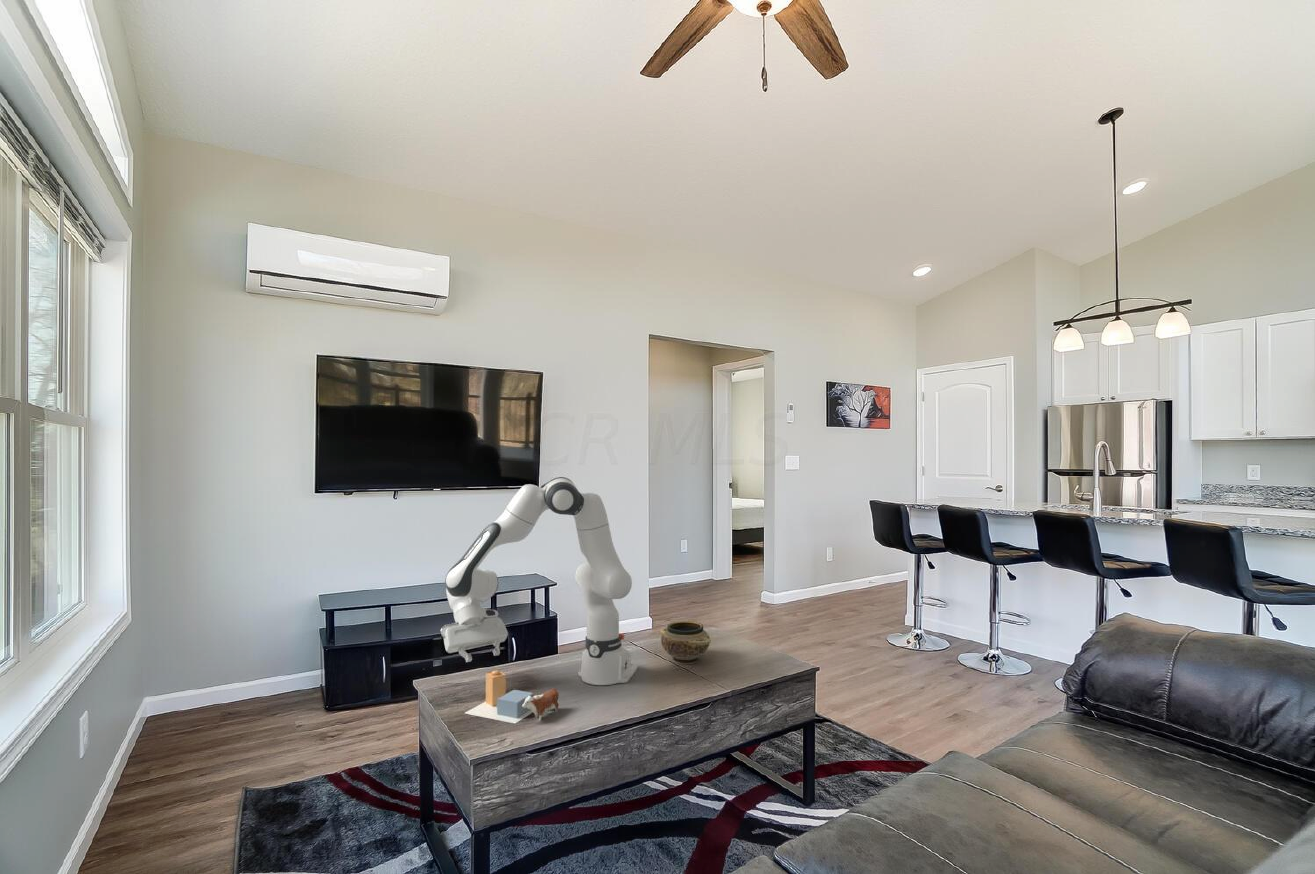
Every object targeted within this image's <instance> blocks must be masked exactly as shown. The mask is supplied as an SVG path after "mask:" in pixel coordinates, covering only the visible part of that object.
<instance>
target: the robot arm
mask: <svg viewBox="0 0 1315 874" xmlns="http://www.w3.org/2000/svg"><path fill="white" fill-rule="evenodd" d="M547 510H550V511H551V512H553V513H555V514H557V515H565V516H566V515H567V516H572V517H573V519H574V522H575V528H576V533H577V538H578V544H579V547H580V548H579V549H580V552H581V553H582V554H583V556H584V557H585V559H586V562H585V561H584V562H583V563H581V564H580V565H579V566H578V567H577V569H576V571H575V575H574V578H575V579H574V580H575V583H576V585H577V586H578V588H579V590H580V593H581V596H582V601H583V604H584V605H583V606H584V609H585V615H586V617H585V619H586V620H585V621H586V636H585V639H584V645H585V646H584V648H585V649H584V651H582V658H581V667H580V668H581V670H579V671H578V676H579V677H580V678H581V680H582V682H583V683H586V684H589V685H595V686H608V685H609V686H610V685H615V684H623V683H624V684H625V683H628V682H629V681H630V679H631V678H632V677H633V676H634V674H635V673H636V671H638V665H636V664H635V663H632V658H631V657H632V656H631V652H630V651H629V650H628V649H626V648H625V647H624V646H623V645H622V641H623V640H625V636H626V635H625V633H620V615H619V611H618V609H617V608H616V606H615V603H614V601H613V600H621V599H624V598H626V597H627V596H628V594H629V593H630V592H631V590H632V584H633V580H632V576H631V575H630V573H629V572H628V571H627V570H626V569H625V567H624V566H623V563H622V561H621V560H620V558H619V556H618V554H617V550H616V549H615V546H614V542H613V539H612V534H611V529H610V523H609V519H608V515H607V510H606V507H605V505H604V503H603V500H602V497H601V496H600V495H599V494H597V493H594V492H586V493H581V492H580V491H579V489H578V488H577V485H575V483H574V482H573V481H572V480H571V479H570V478H568V477H562V476H560V477H559V476H558V477H555V478H552V479H551V480H549V481H547V482H546V483H544V484H542V485H541V486H538V485H535V484H531V483H529V484H527V483H526V484H524V485H523V486H521V487H520V488H519V490H518V491H517V492H516V493H515V494H514V496H513V497H512V498H511V500H510V501H509V503H508V504H507V506H506V507H505V509H504V511H503V512H502V513H501V514H500V516H499V517H498V518H497V519H496V520H495V521H493V522H492V523H490V524H488V525H487V526H486V527H485V528H484V529H483V530H482V531H481V532H480V533H479V534H478V536H477V538H476V539H475V540H474V541H473V543H471V545H470V547H469V548H468V549H467V551H466V552H465V553H464V554H463V555H462V557H461V558H460V559H459V560H458V561H457V562H456V563H455V564H454V565H453V566H452V567H451V568H450V569H449V570H448V572H447V573H446V575H445V580H444V581H445V592H446V597H447V602H448V604H449V607H450V609H451V610H452V613H453V619H454V621H455V622H453V623H449V624H448V623H447V624H444V625H443V626H442V627H440V634H441V636H442V638H443V644H444V648H445V651H446V652H447V653H448V654H452V653H457V652H458V654H459V655H460V656H461V657H462V658H464V660H465V663H469V662H472V660H473V656H472V653H467V651H466V650H471V649H475V648H481V647H485V646H490V645H493V647H495V648H494V649H493V650H492V653H493V656H494V657H496V656H500V655H501V651H500V644H501V643H503V642H505V641H506V640H507V638H508V636H509V635H508V634H509V633H508V629H507V628H506V625H505V623H504V621H503V620H502V618H500V617H498V616H499V612H498V611H497V610H496V609H489V608H482V607H481V603H484V602H486V601H488V600H489V599H491V598H492V597H493V596H495V594H496V593H497V590H498V588H499V578H498V575H497V573H495V571H492V570H489V569H484V568H479V566H480V565H481V564H482V562H483V561H484V560H485V559H486V557H487V556H488V554H490V552H491V551H492V550H494V549H495V548H498V547H499V546H501V545H505V544H511V543H512V544H513V543H517V542H520V541H522V540H525V539H526V537H528V536H529V534H530V533H532V530H533V529H534V527H535V525H536V524H537V522H538V521H539V518H540V516H541V515H542V514H543V513H544V512H545V511H547Z"/></svg>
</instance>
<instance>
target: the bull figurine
mask: <svg viewBox="0 0 1315 874" xmlns="http://www.w3.org/2000/svg"><path fill="white" fill-rule="evenodd" d="M558 701H559V691H558V690H557V688H552V689H550V690H547V691H545V692H544V693H541V694H538V695H533V697H531V696H528V697H527V698H526V699H525V702H524V704H523V705H522V707H523V708H526V707H527V708H528V709H531V710H532V714H534V716H535V718H538V721H541V720H542V718H543V713H544V711H545V712H548V711H549V709H552V707H553V706H554V707H555V712H557V711H558V710H559V703H558Z"/></svg>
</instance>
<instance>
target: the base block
mask: <svg viewBox="0 0 1315 874" xmlns="http://www.w3.org/2000/svg"><path fill="white" fill-rule="evenodd" d="M528 696H531V697H534V692H529V691H523V690H519V689H513V690H510V691H508V692H506V694H505V695H503V696H502V697H500V698H498V699H497V715H502V716H507V717H512V718H519V717H520V716H522V715H523V714H525V713H527V712H528V711H530V710H531V709H528V708H527V707H526V708H523V707H522V705H523V704H524V702H525V699H526V698H527V697H528Z"/></svg>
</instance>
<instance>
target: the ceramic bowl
mask: <svg viewBox="0 0 1315 874" xmlns="http://www.w3.org/2000/svg"><path fill="white" fill-rule="evenodd" d="M659 634H660V635H661V638H660V642H661V643H660V644H661V646H662V648H663V649H664V651H665V652H666V653H667V654H668V655H669V656H670V657H672V660H673V662H674V663H677V664H681V665H692V664H695V663H697V662H698V661H699V657H701V656H702V655H704V654H705V653H706V651H707V650H708V648H709V646H710V644H711V642H712V641H711V639H710V635H709V634H708V632H707V631H706V630H705V629H704V624H702V623H701V622H698V621H694V620H693V621H692V620H678V621H674V622H671V623H668V624H667V626H665V627H663V628H661V629H660V631H659Z"/></svg>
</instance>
